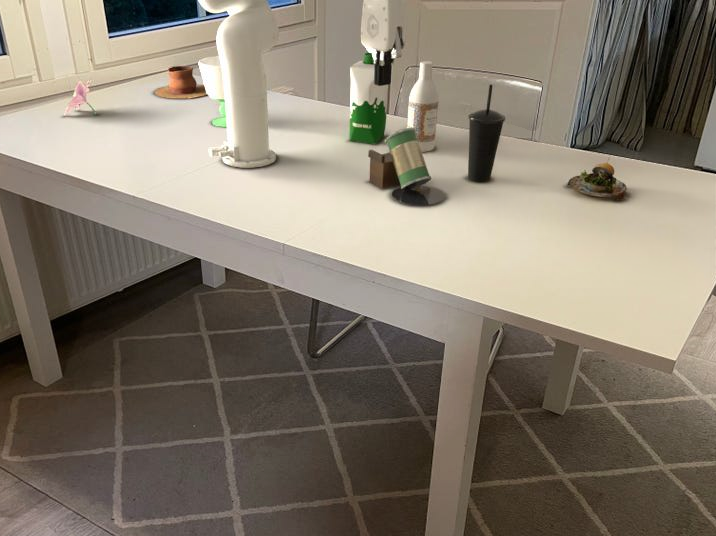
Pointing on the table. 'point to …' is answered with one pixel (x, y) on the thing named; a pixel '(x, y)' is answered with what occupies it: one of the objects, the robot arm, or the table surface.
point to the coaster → (418, 196)
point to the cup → (214, 84)
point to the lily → (79, 97)
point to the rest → (382, 170)
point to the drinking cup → (483, 141)
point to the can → (408, 159)
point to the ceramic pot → (181, 84)
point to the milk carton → (367, 103)
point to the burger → (599, 182)
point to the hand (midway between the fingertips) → (382, 84)
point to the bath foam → (424, 107)
